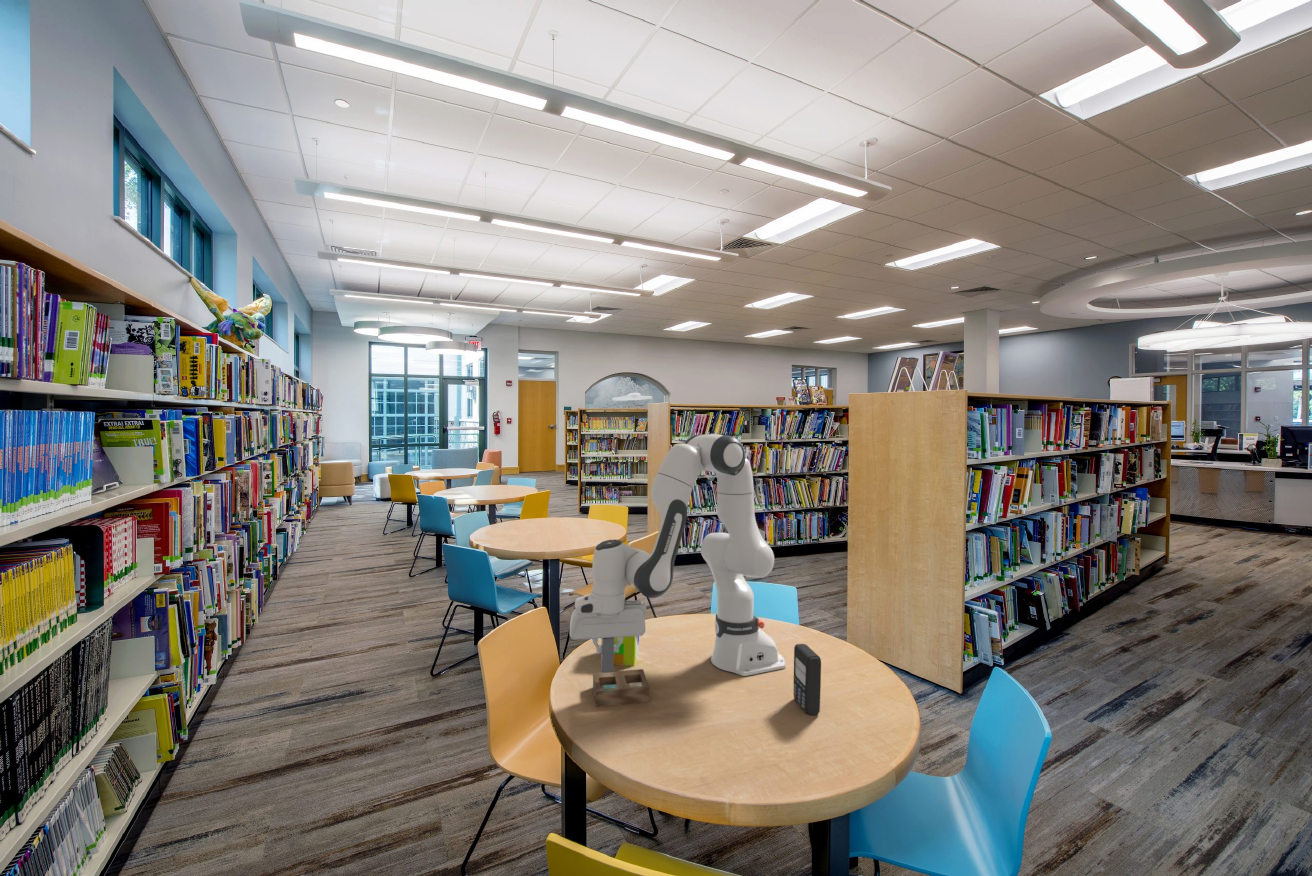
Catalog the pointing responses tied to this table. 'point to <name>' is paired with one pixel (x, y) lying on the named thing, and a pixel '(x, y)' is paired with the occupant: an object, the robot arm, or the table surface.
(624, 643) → the puzzle toy
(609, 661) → the plug
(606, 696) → the socket block
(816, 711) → the card reader
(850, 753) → the table surface
